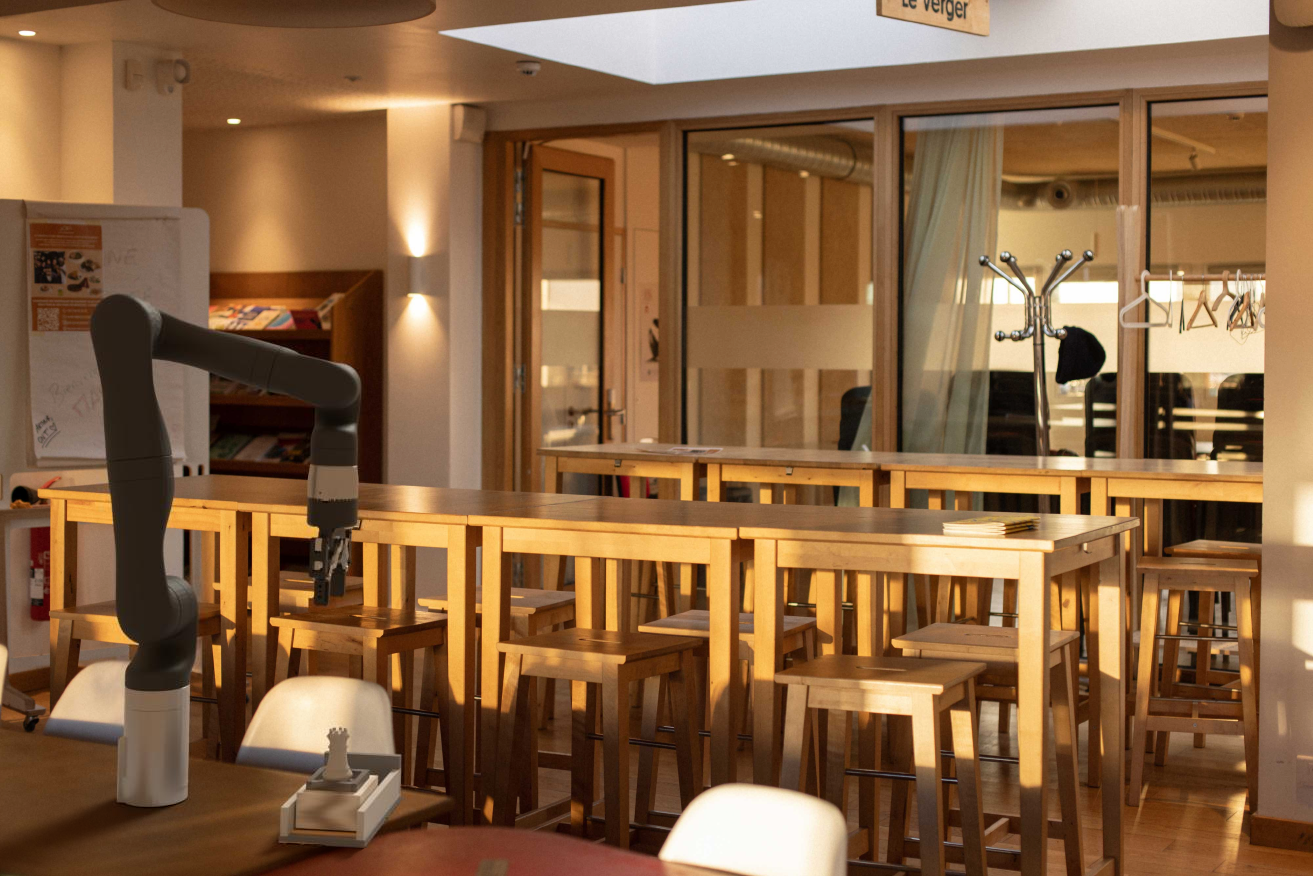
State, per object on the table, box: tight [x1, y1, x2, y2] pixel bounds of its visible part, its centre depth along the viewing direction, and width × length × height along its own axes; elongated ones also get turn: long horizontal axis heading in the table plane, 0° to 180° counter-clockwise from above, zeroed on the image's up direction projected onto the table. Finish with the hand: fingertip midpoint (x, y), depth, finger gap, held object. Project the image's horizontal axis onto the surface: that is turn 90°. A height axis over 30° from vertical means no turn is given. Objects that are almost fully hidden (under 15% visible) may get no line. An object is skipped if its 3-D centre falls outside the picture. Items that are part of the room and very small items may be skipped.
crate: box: [296, 766, 378, 831], centre depth 204 cm, size 9×10×6 cm
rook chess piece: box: [322, 726, 353, 782], centre depth 203 cm, size 4×4×8 cm
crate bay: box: [278, 750, 402, 849], centre depth 207 cm, size 12×22×7 cm, turn 177°
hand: (329, 600), depth 218 cm, fingers open, 8 cm apart
